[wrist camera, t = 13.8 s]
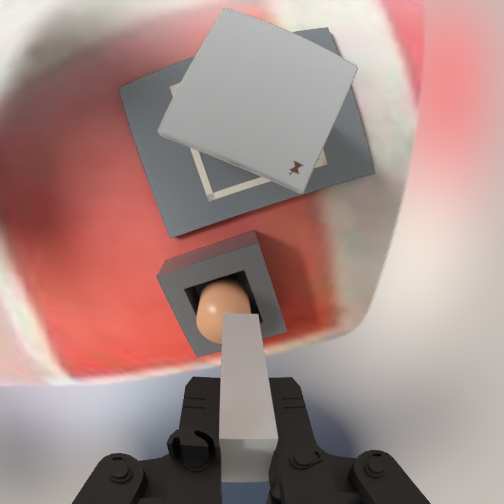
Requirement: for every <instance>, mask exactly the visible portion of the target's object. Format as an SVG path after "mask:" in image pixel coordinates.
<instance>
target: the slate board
mask: <svg viewBox="0 0 504 504" xmlns="http://www.w3.org/2000/svg"><path fill="white" fill-rule="evenodd" d="M292 33H294V34H296V35H299V36H301V37H303V38H305V39H307V40H309V41H311V42H313V43H315V44H317V45H319V46H321V47H323V48H325V49H327V50H329V51H331V52H333V53H335V54H337V55H338V56H339V54H338V51H337V48H336V46H335V44H334V41H333V39H332V36H331V34H330V32H329V29H328V27H327V28H318V29H311V30H304V31H297V32H292ZM193 59H194V57H193V58H190V59H187V60H184V61H181V62H179V63H176V64H173V65H171V66H168V67H166V68H163V69H161V70H158V71H156V72H153V73H151V74H149V75H146V76H144V77H142V78H139V79H137V80H135V81H133V82H131V83H128V84H126V85H124V86H122V87H120V88H118V90H119V93H120V96H121V100H122V103H123V107H124V110H125V113H126V116H127V120H128V123H129V126H130V129H131V132H132V135H133V138H134V141H135V144H136V147H137V150H138V153H139V156H140V159H141V162H142V165H143V168H144V170H145V173H146V176H147V179H148V182H149V184H150V187H151V190H152V193H153V195H154V198H155V201H156V203H157V206H158V209H159V211H160V214H161V216H162V219H163V222H164V224H165V227H166V229H167V232H168V234H169V237H170V239H171V238H173V237H176V236H179V235H182V234H185V233H188V232H190V231H193V230H196V229H199V228H202V227H205V226H208V225H211V224H214V223H217V222H219V221H222V220H225V219H228V218H231V217H234V216H237V215H240V214H243V213H246V212H250V211H253V210H256V209H259V208H262V207H265V206H268V205H271V204H274V203H277V202H281V201H284V200H287V199H290V198H293V197H297V196H300V195H303V194H306V193H310V192H313V191H316V190H320V189H323V188H326V187H330V186H333V185H336V184H340V183H343V182H347V181H350V180H354V179H357V178H361V177H364V176H368V175H371V174H375V172H374V167H373V163H372V159H371V155H370V151H369V147H368V143H367V139H366V136H365V132H364V129H363V125H362V122H361V118H360V115H359V111H358V108H357V105H356V102H355V99H354V96H353V93H352V90H351V87H350V88H349V91H348V93H347V95H346V97H345V99H344V102H343V104H342V106H341V108H340V111H339V113H338V115H337V117H336V120H335V122H334V124H333V127H332V129H331V131H330V134H329V136H328V138H327V140H326V143H325V145H324V147H323V150H322V152H321V154H320V156H319V159H318V161H317V163H316V166H315V168H314V170H313V172H312V175H311V177H310V179H309V181H308V183H307V186H306V188H305V190H304V193H303V194H299V193H297V192H295V191H292V190H290V189H288V188H286V187H284V186H281V185H279V184H277V183H275V182H272V181H270V180H268V179H265V178H263V177H261V176H258V175H256V174H253V173H251V172H249V171H246V170H244V169H241V168H239V167H237V166H234V165H232V164H229V163H227V162H224V161H222V160H220V159H217V158H215V157H212V156H210V155H207V154H205V153H202V152H200V151H197V150H195V149H192V148H190V147H187V146H185V145H182V144H180V143H177V142H175V141H172V140H170V139H167V138H165V137H162V136H160V135H159V134H158V128H159V125H160V123H161V121H162V119H163V117H164V115H165V113H166V111H167V109H168V106H169V104H170V102H171V100H172V98H173V96H174V94H175V92H176V90H177V89H178V87H179V85H180V83H181V81H182V79H183V77H184V75H185V73H186V72H187V70H188V68H189V66H190V64H191V62H192V61H193Z"/></svg>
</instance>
